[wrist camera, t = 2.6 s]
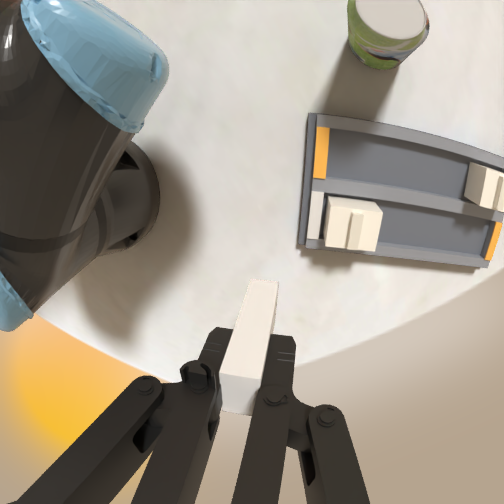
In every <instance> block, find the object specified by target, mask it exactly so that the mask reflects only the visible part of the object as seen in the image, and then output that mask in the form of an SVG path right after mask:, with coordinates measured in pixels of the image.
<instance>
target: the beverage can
mask: <svg viewBox="0 0 504 504" xmlns="http://www.w3.org/2000/svg"><path fill="white" fill-rule="evenodd" d="M347 13H348V41H349V45H350V48H351V50H352V52H353V54H354V55H355V56H356V57H357V58H358V59H359V60H360V61H361V62H362V63H364V64H365V65H367V66H369V67H372V68H375V69H382V70H386V69H391V68H395V67H396V66H398V65H399V64H401V63H402V62H403V61H404V60H405V59H406V58H407V57H408V56H409V55H410V54H411V53H412V52H413V51H415V50H416V49H417V48H418V47H419V46H420V45H421V44H422V43H423V42H424V41H425V39H426V38H427V35H428V33H429V19H428V15H427V13H426V11H425V8H424V7H423V5H422V3H421V1H420V0H348V5H347Z"/></svg>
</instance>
